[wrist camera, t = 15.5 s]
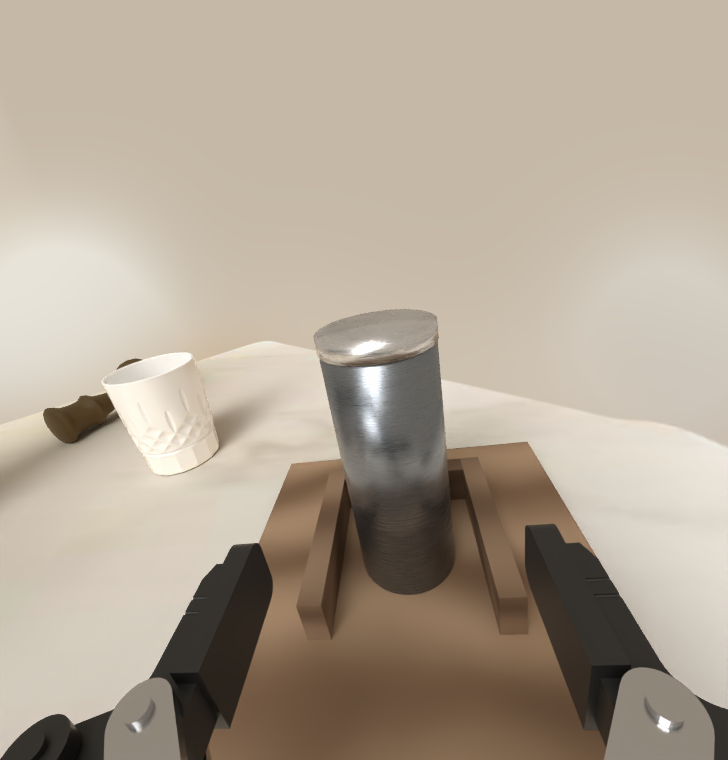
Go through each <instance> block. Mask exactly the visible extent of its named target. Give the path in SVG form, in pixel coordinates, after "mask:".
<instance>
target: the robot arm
mask: <svg viewBox="0 0 728 760" xmlns="http://www.w3.org/2000/svg"><path fill="white" fill-rule="evenodd" d="M525 569H526V574H527V579H528V582H529V586H530V589H531V591H532V594H533V597H534V599H535V602H536V605H537V607H538V610H539V613H540V615H541V618H542V620H543V623H544V626H545V628H546V631H547V634H548V636H549V639H550V642H551V644H552V647H553V650H554V652H555V655H556V658H557V660H558V663H559V666H560V668H561V671H562V674H563V676H564V679H565V682H566V684H567V687H568V690H569V692H570V695H571V698H572V700H573V703H574V706H575V708H576V711H577V714H578V716H579V719H580V721H581V724H582V727H583V729H584V731H599V732H600V734H601V737H602V739H603V742H604V744H605V747H606V752H605V757H604V760H728V710H727V709H724V708H721V707H719V706H716V705H713V704H711V703H709V702H707V701H705V700H703V699H701V698H700V697H698V696H696V695H694V694H693V693H692V692H691V691H690V690H689V689H688V688H687V687H686V686H685V685H683V684H682V683H681V682H679V681H678V680H676V679H675V678H674V677H673V676H672V675H671V674H670V673H669V672H668V671H667V670H666V669H665V667H664V666H663V664H662V663H661V661H660V660H659V658H658V657H657V655H656V653H655V652H654V650H653V648H652V647H651V645H650V644H649V642H648V640H647V639H646V637H645V635H644V634H643V632H642V630H641V629H640V627H639V625H638V624H637V622H636V621H635V619H634V617H633V616H632V614H631V612H630V611H629V609H628V607H627V606H626V604H625V602H624V601H623V599H622V598H621V597H620V596H619V593H618V591H617V589H616V588H615V586H614V584H613V583H612V581H610V579H609V576H608V575H607V573H606V571H605V570H604V568H603V566H602V565H601V563H600V561H599V560H598V558H597V557H596V556H595V555H593V554H592V553H591V552H590V551H589V550H588V549H587V548H585V547H584V546H583V545H582V544H581V543H580V542H578V543H565V541H564V539H563V537H562V535H561V533H560V531H559V530H558V528H557V526H556V525H555V524H553V523H552V524H537V525H526V527H525ZM272 593H273V579H272V575H271V572H270V570H269V567H268V564H267V562H266V559H265V556H264V553H263V551H262V548H261V546H260V544H258V543H253V544H239V545H233V546H232V547H231V549H230V551H229V553H228V555H227V557H226V559H225V561H224V563H223V564H216V565H215V566H214V568H213V569H212V570H211V571H210V572H209V573H208V574H207V575H206V576H205V577H204V578H203V580H202V581H201V583H200V585H199V587H198V589H197V591H196V593H195V595H194V596H193V600H192V601H191V602H190V604H189V606H188V608H187V610H186V614H185V615H183V617H182V619H181V621H180V623H179V625H178V627H177V629H176V630H175V632H174V634H173V636H172V638H171V640H170V642H169V644H168V646H167V647H166V649H165V651H164V653H163V655H162V657H161V659H160V661H159V663H158V664H157V666H156V668H155V670H154V672H153V674H152V675H151V677H150V678H149V679H148V680H146V681H144V682H142V683H140V684H138V685H137V686H135V687H134V688H133V689H132V690H130V691H129V692H128V693H127V694H126V695H125V696H124V697H123V698H122V699H121V701H120V702H119V703H118V704H117V706H116V707H115V709H113V710H111V711H109V712H106V713H104V714H101V715H99V716H96V717H93V718H91V719H88V720H86V721H83V722H81V723H78V724H76V725H73V723H72V722H71V721H70V720H69V719H68V718H67V717H66V716H65V715H62V714H55V715H51V716H48V717H46V718H44V719H42V720H40V721H38V722H37V723H35V724H34V725H32V726H31V727H30V728H28V729H27V730H26V731H25V732H24V733H23V734H21V735H20V736H19V737H18V738H17V739H16V740H15V741H14V742H13V744H12V745H11V746H10V747H9V748H8V750H7V751H6V752H5V754H4V755H3V756H2V758H1V759H0V760H212V759H211V753H210V749H209V747H208V745H209V742H210V739H211V736H212V733H213V730H214V729H230V727H231V724H232V720H233V717H234V714H235V711H236V708H237V705H238V702H239V699H240V695H241V692H242V689H243V686H244V683H245V680H246V677H247V674H248V670H249V667H250V664H251V661H252V658H253V655H254V652H255V648H256V645H257V642H258V639H259V636H260V633H261V630H262V627H263V623H264V620H265V617H266V614H267V611H268V608H269V605H270V602H271V598H272Z"/></svg>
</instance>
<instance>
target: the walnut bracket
mask: <svg viewBox="0 0 728 760" xmlns="http://www.w3.org/2000/svg"><path fill="white" fill-rule="evenodd" d="M446 451H447V463H448V476H449V488H450V500H451V513H452V525H453V537H454V550H455V561H454V565H453V568H452V570H451V572H450V574H449V576H448V577H447V578H446V579H445V580H444V581H443V582H442V583H441V584H440V585H439V586H437V587H436V588H434V589H432V590H430V591H427V592H425V593H421V594H416V595H401V594H396V593H392V592H389V591H387V590H385V589H383V588H381V587H380V586H378V585H377V584H376V583H375V582H374V581H373V580H372V579H371V578H370V576H369V575H368V573H367V571H366V568H365V565H364V560H363V556H362V551H361V547H360V542H359V538H358V533H357V528H356V524H355V519H354V515H353V510H352V506H351V501H350V496H349V492H348V487H347V483H346V478H345V474H344V469H343V464H342V460H341V459H339V460H328V461H318V462H307V463H297V464H291V467H290V469H289V471H288V474H287V476H286V479H285V481H284V483H283V486H282V488H281V491H280V493H279V495H278V498H277V500H276V503H275V505H274V508H273V510H272V512H271V515H270V517H269V520H268V522H267V524H266V527H265V529H264V532H263V534H262V537H261V539H260V541H259V544H260V546H261V548H262V551H263V553H264V556H265V559H266V562H267V564H268V567H269V570H270V572H271V575H272V579H273V593H272V598H271V602H270V605H269V608H268V611H267V614H266V617H265V620H264V623H263V627H262V630H261V633H260V636H259V639H258V642H257V645H256V648H255V652H254V655H253V658H252V661H251V664H250V667H249V670H248V674H247V677H246V680H245V683H244V686H243V689H242V692H241V695H240V699H239V702H238V705H237V708H236V711H235V714H234V717H233V720H232V724H231V727H230V729H214V730H213V733H212V736H211V739H210V742H209V745H208V747H209V749H210V753H211V759H212V760H604V757H605V752H606V747H605V744H604V742H603V739H602V737H601V734H600V732H599V731H584V729H583V727H582V724H581V721H580V719H579V716H578V714H577V711H576V708H575V706H574V703H573V700H572V698H571V695H570V692H569V690H568V687H567V684H566V682H565V679H564V676H563V674H562V671H561V668H560V666H559V663H558V660H557V658H556V655H555V652H554V650H553V647H552V644H551V642H550V639H549V636H548V634H547V631H546V628H545V626H544V623H543V620H542V618H541V615H540V613H539V610H538V607H537V605H536V602H535V599H534V597H533V594H532V591H531V589H530V586H529V582H528V579H527V574H526V569H525V527H526V525H537V524H552V523H553V524H555V525H556V526H557V528H558V530H559V531H560V533H561V535H562V537H563V539H564V541H565V543H578V542H580V543H581V544H582V545H583V546H584V547H585V548H587V549H588V550H589V551H590V552H591V553H592V554H593V555H595V554H594V552H593V550H592V549H591V547H590V545H589V544H588V542H587V540H586V539H585V537H584V535H583V534H582V532H581V530H580V529H579V527H578V525H577V524H576V522H575V520H574V519H573V517H572V515H571V514H570V512H569V510H568V509H567V507H566V505H565V504H564V502H563V500H562V499H561V497H560V495H559V494H558V492H557V490H556V489H555V487H554V485H553V484H552V482H551V480H550V479H549V477H548V475H547V474H546V472H545V471H544V469H543V467H542V466H541V464H540V462H539V461H538V459H537V457H536V456H535V454H534V452H533V451H532V449H531V447H530V446H529V444H528V442H520V443H509V444H498V445H488V446H477V447H467V448H456V449H446ZM595 556H596V555H595ZM610 581H611V580H610ZM619 596H620V595H619Z"/></svg>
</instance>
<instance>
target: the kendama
mask: <svg viewBox="0 0 728 760" xmlns="http://www.w3.org/2000/svg"><path fill="white" fill-rule="evenodd" d="M138 361H141V359H131V360H127V361H125V362H124V363H122V364H121V365H120V366H119V367H118V368H117V370H118V369H120V368H122V367H125V366H127V365H130V364H132V363H135V362H138ZM114 409H115V407H114V405H113V404H112V402H111V400H110V398H109V396H108V394H107V393H105V394H101V395H98V396H80V398H79V399H78V401H77V402H75V403H73V404H71V405H69V406H66V407H63V408H47V409H45V411H44V413H43V416H44V420H45V423H46V425H47V427H48V428H49V429H50V431H51V432H52V433H53V434H54V435H55V436H56V437H57V438H58V439H60V440H61V441H63V442H65V443H73V442H75V441H76V440H77V439H78V436H79V434H80V433H81V432H82V431H84V430H85V429H87V428H88V427H90V426H92V425H95V424H103V423H104V422H105V421H106V417H107V415H108V414H109V413H110V412H112V411H113V410H114Z"/></svg>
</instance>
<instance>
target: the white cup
mask: <svg viewBox="0 0 728 760" xmlns="http://www.w3.org/2000/svg"><path fill="white" fill-rule="evenodd" d="M101 383H102V385H103V387H104V389H105V391H106V393H107V394H108V396H109V398H110V400H111V402H112V404H113V405H114V407H115V409H116V411H117V413H118V415H119V416H120V418H121V420H122V422H123V424H124V426H125V427H126V428H127V430H128V432H129V434H130V436H131V437H132V439H133V440H134V442H135V444H136V446H137V448H138V449H139V450H140V451H141V452H142V454H143V456H144V458H145V460H146V461H147V463H148V465H149V467H150V469H151V470H152V471H153V472H154V473H155V474H157V475H173V474H178V473H182V472H185V471H187V470H190V469H192V468H195V467H197V466H199V465H200V464H202V463H203V462H205V461H206V460H208V459H209V458H211V457H212V456H213V454H214V453H215V452H216V451H217V450H218V448H219V439H218V436H217V433H216V430H215V427H214V424H213V417H212V414H211V411H210V408H209V404H208V400H207V396H206V393H205V390H204V387H203V383H202V380H201V377H200V374H199V371H198V368H197V364H196V361H195V358H194V355H193V354H192V353H187V352H179V353H171V354H165V355H160V356H156V357H152V358H148V359H145V360H141V361H138V362H135V363H132V364H130V365H127V366H125V367H122V368H120V369H118V370H116V371H114V372H112V373H110V374H108V375H107V376H106V377H104V378H103V379H102V381H101Z"/></svg>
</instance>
